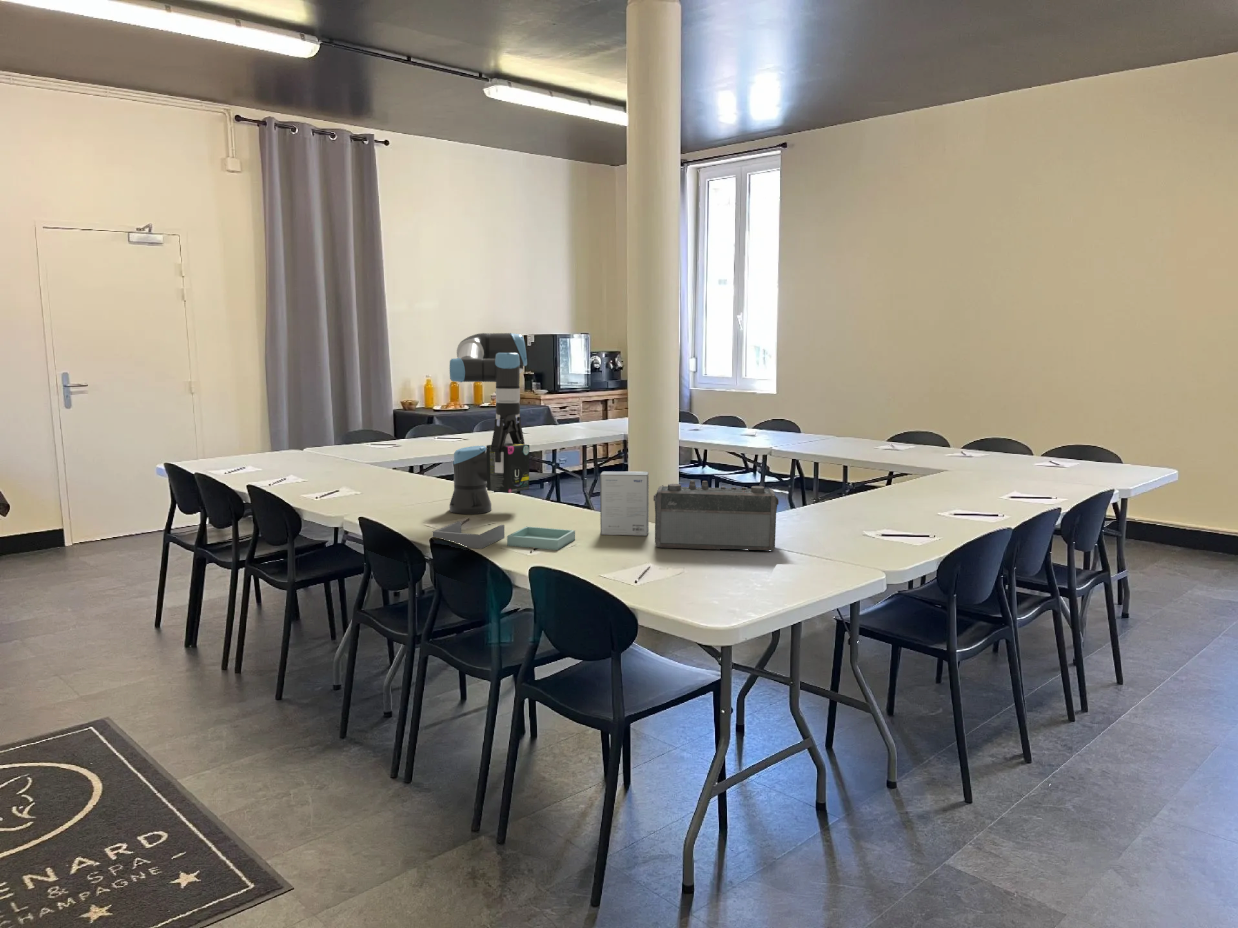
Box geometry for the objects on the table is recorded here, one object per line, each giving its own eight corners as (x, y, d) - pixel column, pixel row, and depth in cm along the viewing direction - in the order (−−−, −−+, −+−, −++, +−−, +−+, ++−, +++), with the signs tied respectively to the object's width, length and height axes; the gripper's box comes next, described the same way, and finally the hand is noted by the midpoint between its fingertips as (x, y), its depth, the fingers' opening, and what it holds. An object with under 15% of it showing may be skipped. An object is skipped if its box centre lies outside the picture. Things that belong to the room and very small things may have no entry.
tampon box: (508, 493, 276) (508, 446, 274) (485, 491, 281) (485, 445, 279) (530, 489, 285) (530, 443, 284) (508, 486, 290) (507, 442, 288)
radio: (651, 549, 270) (652, 484, 267) (654, 538, 284) (655, 476, 281) (777, 553, 266) (780, 487, 263) (774, 542, 280) (777, 479, 277)
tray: (526, 535, 285) (526, 526, 285) (575, 539, 280) (575, 530, 280) (507, 545, 272) (507, 535, 271) (557, 550, 267) (557, 540, 266)
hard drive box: (649, 531, 294) (649, 471, 291) (647, 536, 286) (648, 475, 283) (602, 529, 295) (602, 470, 292) (599, 534, 288) (599, 473, 285)
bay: (458, 533, 287) (457, 521, 287) (504, 537, 282) (504, 525, 282) (432, 544, 272) (432, 531, 272) (481, 548, 267) (481, 535, 267)
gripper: (513, 399, 292) (514, 465, 295) (478, 403, 270) (479, 474, 272) (534, 400, 290) (534, 466, 293) (501, 404, 267) (501, 475, 270)
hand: (508, 470), depth 282 cm, fingers closed on tampon box, 12 cm apart
